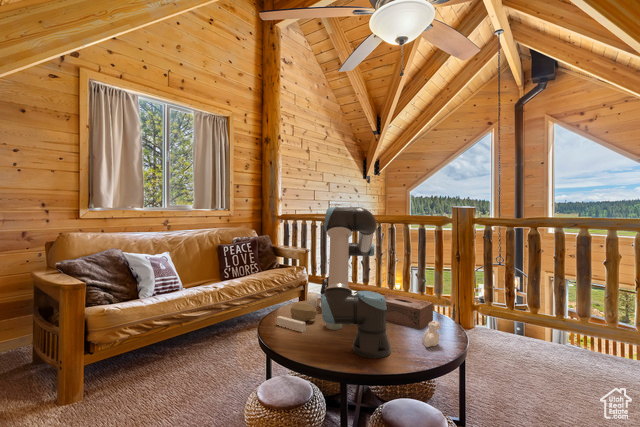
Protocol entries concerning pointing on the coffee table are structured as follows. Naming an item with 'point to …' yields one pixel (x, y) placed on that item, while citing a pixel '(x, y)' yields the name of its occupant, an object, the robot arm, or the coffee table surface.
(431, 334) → the bust
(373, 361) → the coffee table surface
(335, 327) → the pale green egg
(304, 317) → the low-poly potato
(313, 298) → the cream capsule
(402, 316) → the tissue box cover
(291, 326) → the rail
